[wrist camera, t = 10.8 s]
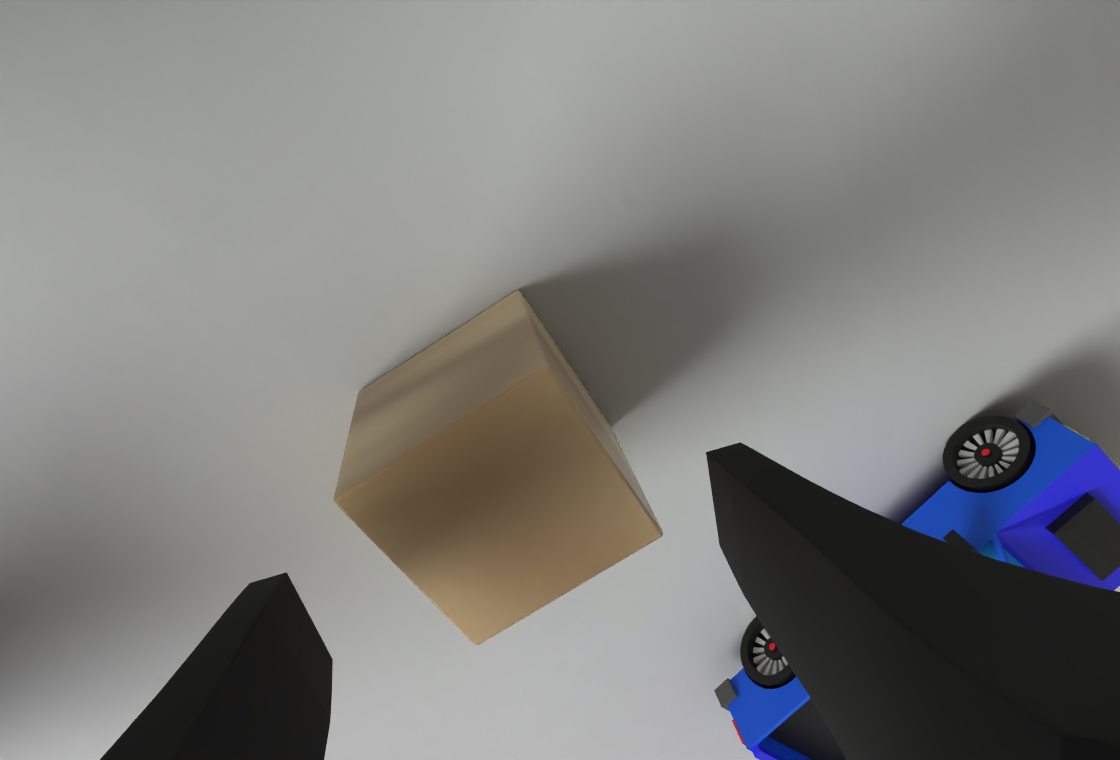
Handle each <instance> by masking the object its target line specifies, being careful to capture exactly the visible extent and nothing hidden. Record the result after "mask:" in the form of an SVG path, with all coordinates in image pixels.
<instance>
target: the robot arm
mask: <svg viewBox="0 0 1120 760" xmlns="http://www.w3.org/2000/svg"><path fill="white" fill-rule="evenodd" d="M706 455H707V462H708V468H709V475H710V482H711V489H712V496H713V503H714V510H715V516H716V523H717V530H718V537H719V544H720V547H721V549H722V551H723V553H724V555H725V557H726V560H727V562H728V564H729V566H730V568H731V570H732V572H733V574H734V576H735V578H736V580H737V582H738V584H739V586H740V588H741V590H742V592H743V594H744V596H745V598H746V599H747V601H748V602H749V604H750V606H751V607H752V609H753V610H754V612H755V613H756V615H757V617H758V618H759V620H760V621H761V623H762V624H763V626H764V627H765V629H766V630H767V632H768V634H769V635H770V637H771V638H772V640H773V641H774V643H775V644H776V646H777V647H778V649H779V650H780V652H781V654H782V655H783V657H784V658H785V660H786V661H787V663H788V664H789V666H790V667H791V669H792V670H793V672H794V673H795V675H796V676H797V678H798V680H799V681H800V683H801V684H802V686H803V687H804V689H805V690H806V692H807V693H808V695H809V696H810V698H811V699H812V701H813V703H814V704H815V706H816V707H817V709H818V710H819V712H820V714H821V715H822V717H823V719H824V720H825V722H826V724H827V725H828V727H829V729H830V730H831V732H832V734H833V735H834V737H835V739H836V741H837V743H838V745H839V747H840V749H841V751H842V752H843V754H844V756H845V758H846V760H1120V592H1117V591H1113V590H1108V589H1104V588H1099V587H1095V586H1090V585H1086V584H1083V583H1079V582H1075V581H1071V580H1067V579H1063V578H1059V577H1055V576H1051V575H1048V574H1044V573H1041V572H1037V571H1034V570H1031V569H1027V568H1024V567H1020V566H1017V565H1013V564H1010V563H1007V562H1003V561H1000V560H997V559H993V558H990V557H987V556H984V555H981V554H978V553H975V552H972V551H969V550H966V549H964V548H961V547H958V546H955V545H953V544H950V543H947V542H944V541H942V540H939V539H936V538H934V537H931V536H928V535H925V534H923V533H920V532H918V531H915V530H913V529H910V528H908V527H905V526H903V525H901V524H898V523H896V522H894V521H892V520H889V519H887V518H885V517H883V516H880V515H878V514H876V513H874V512H871V511H869V510H867V509H865V508H863V507H860V506H858V505H856V504H854V503H852V502H850V501H848V500H846V499H844V498H842V497H840V496H838V495H836V494H834V493H832V492H830V491H828V490H826V489H824V488H822V487H820V486H818V485H817V484H815V483H813V482H811V481H809V480H807V479H805V478H803V477H802V476H800V475H798V474H796V473H794V472H793V471H791V470H789V469H787V468H785V467H784V466H782V465H780V464H778V463H776V462H775V461H773V460H771V459H769V458H768V457H766V456H764V455H762V454H760V453H759V452H757V451H755V450H753V449H752V448H750V447H748V446H746V445H744V444H742V443H737V444H733V445H730V446H726V447H723V448H719V449H716V450H712V451H709V452H706ZM332 660H333V659H332V658H331V656H330V654H329V652H328V650H327V648H326V646H325V644H324V642H323V640H322V639H321V637H320V635H319V633H318V631H317V629H316V627H315V625H314V623H313V622H312V620H311V618H310V616H309V614H308V612H307V610H306V608H305V606H304V604H303V603H302V601H301V599H300V597H299V595H298V593H297V591H296V589H295V587H294V586H293V584H292V582H291V580H290V578H289V576H288V574H287V573H283V574H280V575H276V576H273V577H269V578H266V579H262V580H259V581H255V582H252V583H250V584H249V585H248V586H247V587H246V588H245V589H244V590H243V591H242V592H241V593H240V595H239V596H238V597H237V598H236V599H235V600H234V602H233V603H232V604H231V605H230V606H229V608H228V609H227V610H226V611H225V612H224V614H223V615H222V616H221V617H220V619H219V620H218V621H217V622H216V623H215V625H214V626H213V627H212V628H211V630H210V631H209V632H208V633H207V635H206V636H205V637H204V638H203V640H202V641H201V642H200V643H199V645H198V646H197V647H196V648H195V649H194V651H193V652H192V653H191V654H190V656H189V657H188V658H187V659H186V660H185V662H184V663H183V664H182V665H181V667H180V668H179V669H178V670H177V671H176V673H175V674H174V675H173V676H172V678H171V679H170V680H169V681H168V682H167V684H166V685H165V686H164V687H163V688H162V690H161V691H160V692H159V693H158V694H157V696H156V697H155V698H154V699H153V700H152V701H151V702H150V703H149V705H148V706H147V707H146V708H145V709H144V710H143V711H142V713H141V714H140V715H139V716H138V717H137V718H136V719H135V721H134V722H133V723H132V724H131V725H130V726H129V727H128V729H127V730H126V731H125V732H124V733H123V734H122V735H121V737H120V738H119V739H118V740H117V741H116V742H115V743H114V744H113V746H112V747H111V748H110V749H109V750H108V751H107V752H106V754H105V755H104V756H103V757H102V758H101V759H100V760H324V756H325V750H326V744H327V738H328V731H329V725H330V715H331V697H332Z"/></svg>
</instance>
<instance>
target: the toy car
mask: <svg viewBox="0 0 1120 760" xmlns="http://www.w3.org/2000/svg"><path fill="white" fill-rule="evenodd" d="M1015 416H1016V418H1017V419H1016V421H1015V420H1013V419H1010V418H1007V417H1003V416H988V417H983V418H979V419H976V420H973V421H971V422H969V423H967V424H966V425H964V426H962V427H961V428H960V429H958V430H957V431H956V432H955V433H954V434H953V435H952V436H951V438H950V439H949V441H948V442H947V444H946V447H945V449H944V453H943V464H944V468H945V470H946V472H947V474H948V475H949V476H950V477H951V478H952V479H953V480H954V481H955V482H956V483H957V484H958V485H959V486H961V487H962V488H963V489H964V490H962V489H959V488H958V487H956V486H955V485H954V484H953V483H951V482H950V481H948V482H947V483H946V484H945V485H944V486H943V487H941V488H940V489H939V490H938V491H937V492H936V493H935V494H934V495H933V496H932V497H931V498H929V499H928V500H927V501H926V502H925V503H924V504H923V505H922V506H921V507H920V508H918V509H917V510H916V511H915V512H914V513H913V514H912V515H911V516H910V517H909V518H908V519H906V520H905V521H904V522H903V523H902V524H901V525H903V526H905V527H908V528H910V529H913V530H915V531H918V532H920V533H923V534H925V535H928V536H931V537H934V538H936V539H939V540H942V541H944V542H947V543H950V544H953V545H955V546H958V547H961V548H964V549H966V550H969V551H972V552H975V553H978V554H981V555H984V556H987V557H990V558H993V559H997V560H1000V561H1003V562H1007V563H1010V564H1013V565H1017V566H1020V567H1024V568H1027V569H1031V570H1034V571H1037V572H1041V573H1044V574H1048V575H1051V576H1055V577H1059V578H1063V579H1067V580H1071V581H1075V582H1079V583H1083V584H1086V585H1090V586H1095V587H1099V588H1104V589H1108V590H1113V591H1114V590H1115V589H1116V588H1117V587H1119V586H1120V471H1119V469H1118V468H1117V467H1116V466H1115V465H1114V464H1113V463H1112V461H1111V460H1110V459H1109V458H1108V457H1107V456H1106V455H1105V453H1104V452H1103V451H1102V450H1101V449H1100V448H1099V447H1098V446H1097V444H1095V443H1093V442H1092V441H1091V440H1090V439H1089V438H1087V437H1085V436H1084V435H1082V434H1080V433H1078V432H1077V431H1075V430H1073V429H1071V428H1069V427H1068V426H1066V425H1063V424H1062V423H1061V422H1060V420H1059V419H1058V418H1057V417H1056V416H1055V415H1054V414H1053V413H1052V412H1051V410H1049V409H1047V408H1046V407H1044V406H1042V405H1040V404H1038V403H1037V402H1035V401H1033V400H1031V401H1030V402H1029V403H1028V404H1027V405H1026V406H1025V407H1024V408H1023V409H1021V410H1020V411H1019V412H1018V413H1017V414H1016V415H1015ZM741 661H742V665H743V667H744V668H743V669H742V670H741V671H740V672H739V673H738V674H737V675H735V676H734V677H733V678H732V679H731V680H729V679H728V678H727V679H726V680H725V681H724V682H723V683H722V684H721V685H720V686H719V687H718V688H716V689H715V690H714V691H715V693H716V696H717V698H718V700H719V702H720V704H721V707H723V708H725V709H727V710H728V711H730V712H731V715H732V717H733V719H734V720H732V721H733V724H734V726H735V728H736V730H737V732H738V735H739V737H740V739H741V741H742V743H743V744H744V745H746V747H747V749H748V750H750V751H752V752H753V754H754V756H755V757H756V758H758V759H760V760H846V758H845V756H844V754H843V752H842V751H841V749H840V747H839V745H838V743H837V741H836V739H835V737H834V735H833V734H832V732H831V730H830V729H829V727H828V725H827V724H826V722H825V720H824V719H823V717H822V715H821V714H820V712H819V710H818V709H817V707H816V706H815V704H814V703H813V701H812V699H811V698H810V696H809V695H808V693H807V692H806V690H805V689H804V687H803V686H802V684H801V683H800V681H799V680H798V678H797V676H796V675H795V673H794V672H793V670H792V669H791V667H790V666H789V664H788V663H787V661H786V660H785V658H784V657H783V655H782V654H781V652H780V650H779V649H778V647H777V646H776V644H775V643H774V641H773V640H772V638H771V637H770V635H769V634H768V632H767V630H766V629H765V627H764V626H763V624H762V623H761V621H760V620H759V618H758V617H756V618H755V619H754V620H753V621H752V622H751V623H750V625H749V626H748V628H747V629H746V632H745V634H744V636H743V639H742V643H741Z"/></svg>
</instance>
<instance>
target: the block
mask: <svg viewBox="0 0 1120 760" xmlns="http://www.w3.org/2000/svg"><path fill="white" fill-rule="evenodd" d="M334 502H335V504H336V505H337V506H338V507H339V508H340V509H341V510H342V511H343V512H344V513H345V514H346V515H347V516H348V517H349V518H350V519H351V520H352V521H353V522H354V523H355V524H356V525H357V526H358V527H359V528H360V529H361V530H362V531H363V532H364V533H365V534H366V535H367V536H368V537H369V538H370V539H371V540H372V541H373V542H374V543H375V544H376V545H377V546H378V547H379V548H380V549H381V550H382V551H383V552H384V553H385V554H386V555H387V556H388V558H389V559H390V560H391V561H392V562H393V563H394V564H395V565H396V566H397V567H398V568H399V569H400V570H401V571H402V572H403V573H404V574H405V575H406V576H407V577H408V578H409V579H410V580H411V581H412V582H413V583H414V584H415V585H416V586H417V587H418V588H419V589H420V590H421V591H422V592H423V593H424V594H425V595H426V596H427V597H428V598H429V599H430V600H431V601H432V602H433V603H434V604H435V605H436V606H437V607H438V608H439V609H440V610H441V611H442V612H443V613H444V614H445V615H446V616H447V617H448V618H449V620H450V621H451V622H452V623H453V624H454V625H455V626H456V627H457V628H458V629H459V630H460V631H461V632H462V633H463V634H464V635H465V636H466V637H467V638H468V639H469V640H470V641H471V642H472V643H473V644H474V645H479V644H481V643H482V642H484V641H486V640H487V639H489V638H491V637H492V636H494V635H496V634H498V633H499V632H501V631H503V630H504V629H506V628H508V627H509V626H511V625H513V624H514V623H516V622H518V621H520V620H521V619H523V618H525V617H526V616H528V615H530V614H531V613H533V612H535V611H536V610H538V609H540V608H542V607H543V606H545V605H547V604H548V603H550V602H552V601H553V600H555V599H557V598H558V597H560V596H562V595H564V594H565V593H567V592H569V591H570V590H572V589H574V588H575V587H577V586H579V585H580V584H582V583H584V582H586V581H587V580H589V579H591V578H592V577H594V576H596V575H597V574H599V573H601V572H602V571H604V570H606V569H607V568H609V567H611V566H613V565H614V564H616V563H618V562H619V561H621V560H623V559H624V558H626V557H628V556H629V555H631V554H633V553H635V552H636V551H638V550H640V549H641V548H643V547H645V546H646V545H648V544H650V543H651V542H653V541H655V540H657V539H658V538H660V537H661V536H662V535H663V533H662V529H661V527H660V525H659V523H658V521H657V519H656V517H655V515H654V513H653V511H652V509H651V507H650V505H649V503H648V501H647V499H646V497H645V495H644V493H643V491H642V489H641V487H640V485H639V483H638V481H637V479H636V477H635V475H634V473H633V471H632V469H631V467H630V465H629V463H628V461H627V458H626V456H625V454H624V452H623V450H622V448H621V446H620V444H619V442H618V440H617V438H616V436H615V434H614V432H613V430H612V428H611V426H610V425H609V423H608V422H607V420H606V419H605V417H604V416H603V414H602V413H601V411H600V410H599V408H598V407H597V405H596V404H595V402H594V401H593V399H592V398H591V396H590V395H589V393H588V392H587V390H586V389H585V387H584V386H583V384H582V383H581V381H580V380H579V378H578V377H577V375H576V374H575V372H574V371H573V369H572V368H571V366H570V365H569V363H568V362H567V360H566V359H565V357H564V356H563V354H562V353H561V351H560V350H559V348H558V347H557V345H556V344H555V342H554V341H553V339H552V338H551V336H550V335H549V333H548V332H547V330H546V329H545V327H544V326H543V324H542V323H541V321H540V320H539V318H538V317H537V315H536V314H535V312H534V311H533V309H532V308H531V306H530V305H529V303H528V302H527V300H526V299H525V297H524V296H523V294H522V293H521V292H520V291H519V290H517V291H515V292H513V293H512V294H510V295H509V296H507V297H505V298H504V299H502V300H501V301H499V302H498V303H496V304H495V305H493V306H491V307H490V308H488V309H487V310H485V311H484V312H482V313H480V314H479V315H477V316H476V317H474V318H473V319H471V320H470V321H468V322H466V323H465V324H463V325H462V326H460V327H459V328H457V329H456V330H454V331H452V332H451V333H449V334H448V335H446V336H445V337H443V338H442V339H440V340H438V341H437V342H435V343H434V344H432V345H431V346H429V347H427V348H426V349H424V350H423V351H421V352H420V353H418V354H417V355H415V356H413V357H412V358H410V359H409V360H407V361H406V362H404V363H403V364H401V365H399V366H398V367H396V368H395V369H393V370H392V371H390V372H388V373H387V374H385V375H384V376H382V377H381V378H379V379H378V380H376V381H374V382H373V383H371V384H370V385H368V386H367V387H365V388H364V389H362V390H360V391H359V393H358V396H357V400H356V405H355V409H354V413H353V417H352V422H351V426H350V430H349V435H348V439H347V443H346V447H345V452H344V456H343V460H342V465H341V469H340V473H339V477H338V482H337V486H336V490H335V495H334Z"/></svg>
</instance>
